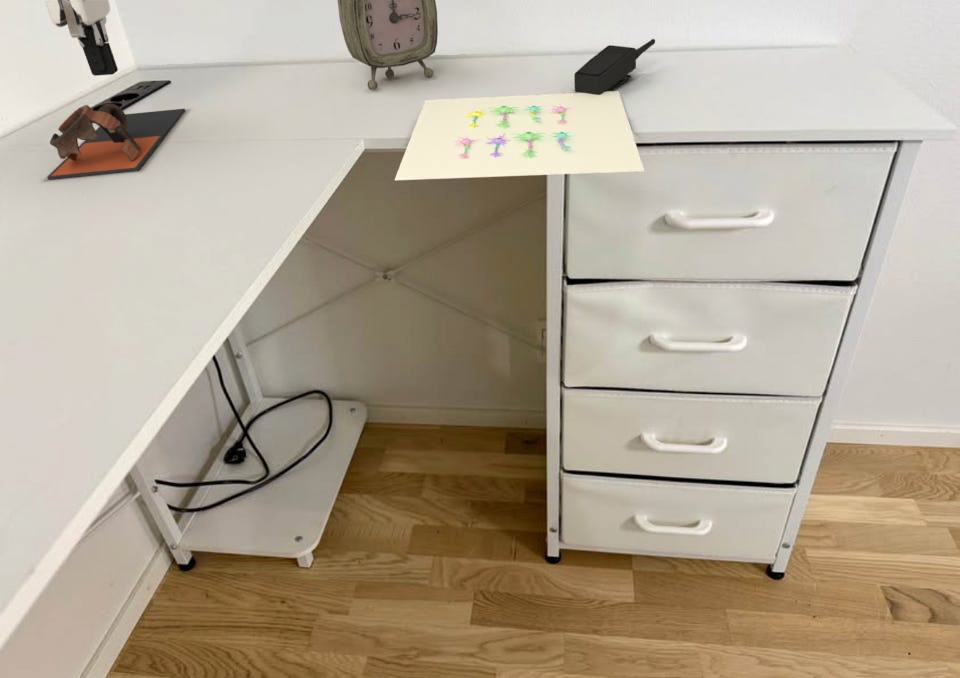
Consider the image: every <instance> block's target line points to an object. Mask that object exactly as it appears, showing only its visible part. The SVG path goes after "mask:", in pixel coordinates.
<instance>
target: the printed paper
mask: <svg viewBox="0 0 960 678" xmlns="http://www.w3.org/2000/svg"><path fill="white" fill-rule="evenodd" d="M629 172H633V173H634V172H645V168H644V164H643V161H642V159H641V155H640V153H639V149H638V147H637V143H636V139H635V137H634V134H633V130H632V128H631V124H630V121H629V118H628V115H627V112H626V110H625V107H624V102H623V100H622V96H621V94H620V91H619V90H611V91H608V92H604V93H602V94H601V95H594V94H588V93H580V92H569V93H548V94H547V93H545V94H527V95H525V94H524V95H507V96H506V95H505V96H503V95H502V96H485V97H463V98H446V99H445V98H443V99H425V100H424V102H423V104H422V107H421V110H420V112H419V115H418V118H417V121H416V122H415V126H414V128H413V131H412V132H411V136H410V139H409V141H408V144H407V146H406V149H405V151H404V154H403V156H402V159H401V161H400V164H399V168H398V169H397V172H396V175H395V177H394V181H414V180H415V181H416V180H442V179H443V180H445V179H468V178H469V179H470V178H472V179H473V178H495V177H521V176H522V177H523V176H524V177H525V176H547V175H549V176H551V175H576V174H577V175H578V174H579V175H581V174H600V173H602V174H605V173H607V174H608V173H629Z"/></svg>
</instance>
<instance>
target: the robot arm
mask: <svg viewBox="0 0 960 678" xmlns="http://www.w3.org/2000/svg"><path fill="white" fill-rule="evenodd" d="M109 1H110V0H44V3H45V5H46V9H47V11H48V14H49V18H50V20H51V22H52V24H53V25H54V26H55V27H57V28H63V27H65V26H67V27H68V31H69V35H70V37H71V38H73V39H77V41H78V43H79V46H80V47H81V48H82V50H83V53H84V56H85V58H86V61H87V64H88V67H89V70H90V72H91V74H92V75H93V76H94V77H95V76H97V77H98V76H110V75H111V76H112V75H114V74H116V73H117V72H118V70H119V69H118V65H117V62H116V60H115V56H114V54H113V50H112V47H111V45H110V43H109V41H110V40H109V35H108V32H107V28H106V24H107V21H108V20H107V15H108V14H109V13H110V12H111V6H110V2H109Z"/></svg>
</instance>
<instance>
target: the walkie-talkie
mask: <svg viewBox="0 0 960 678" xmlns="http://www.w3.org/2000/svg"><path fill="white" fill-rule="evenodd" d="M655 44H656V39H655V38H652V39H650V40H649V41H647V42H646V43H644V44H643V45H642V46H640V47H638V48H635V47H629V46H620V45H607V46H606V47H604V48H603V49H602V50H601V51H599V52H598V53H597V54H595V55H594V56H593V57H592V58H590V59H589V60H588V61H586V63H584V64H583V65H582V66H581V67H579V69H578V70H577V71H575V72H574V75H573V76H574V79H573V80H574V93H588V94H594V95H601V94H602V93H604V92H608V91H613V90H615V89H616V88H618V87H619V86H621V85H623V84H625V83H626V82H627V81H628V80H629V79H631V78H632V75H631V74H630V73H631V72H633V71H635V69H636V67H637V60H638V58H640V56H641V55H642V54H643V53H645V52H646V51H648V50H649V49H650V48H651V47H652V46H654V45H655Z"/></svg>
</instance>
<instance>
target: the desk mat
mask: <svg viewBox="0 0 960 678" xmlns="http://www.w3.org/2000/svg"><path fill="white" fill-rule="evenodd" d="M185 112H186V109H185V108H175V109H166V110H156V111H155V110H154V111H145V112H136V113H135V112H134V113H125V115H126V118H127V123H128V128H127V131H128V132H129V135H131V136H132V138H133V139H134V140H135V142H136V143H137V145H138V146H139V147H140V151H139V153H138V155H137V157H136V158H135V159H134V160H133V161H131V160H130V159H129V158H128V157H127V155H126V154H125V153H123V152H122V151H121V150H120V149H121V147H122V146H123V144H124V142H123V143H121V142H118V143H114V142H113V141H112V139H111V138H110V137H109V136H108V134H107V133H106V132H105V131H104V130H103V129H102V128H101V127H100V126H98V128H97V129H95V132H96V133H97V134H98V135H100V138H98V139H95V140H83V142H81V144H80V145H78V147H79V150H80V152H81V155H79V154H78V155H77V158H76V161H74V160H71V159H69V158H67V157H66V158H65V159H63V161H62V162H61V163H60V164H59V165H58V166H57V167H55V169H54V170H53V171H52V172H50V173H49V175H47V176H46V178H47V180H48V181H49V180H50V181H51V180H60V179H69V178H70V179H71V178H79V177H88V176H99V175H108V174H119V173H127V172H128V173H129V172H138V171H140V170H141V168H142V167H143V166H144V164H145V163H146V162H147V160H148V159H149V158H150V157H151V156H152V154H153V153H154V151H156V149H157V148H158V147H159V145H160V144H161V143H162V141H164V139H165V138H166V136H167V135H168V134H169V133H170V131H171V130H172V129H173V127H174V126H175V125H176V123H178V121H179V120H180V118H181V117H182V116H183V114H184V113H185Z"/></svg>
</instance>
